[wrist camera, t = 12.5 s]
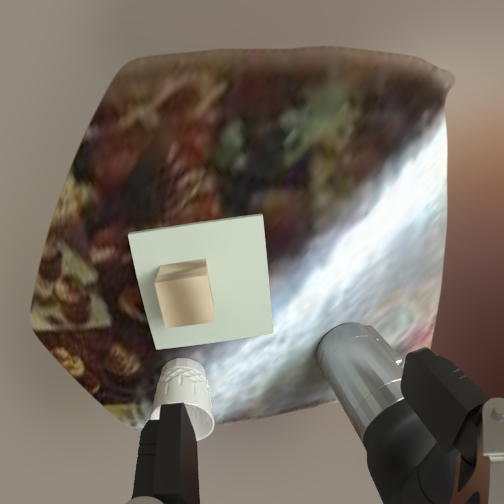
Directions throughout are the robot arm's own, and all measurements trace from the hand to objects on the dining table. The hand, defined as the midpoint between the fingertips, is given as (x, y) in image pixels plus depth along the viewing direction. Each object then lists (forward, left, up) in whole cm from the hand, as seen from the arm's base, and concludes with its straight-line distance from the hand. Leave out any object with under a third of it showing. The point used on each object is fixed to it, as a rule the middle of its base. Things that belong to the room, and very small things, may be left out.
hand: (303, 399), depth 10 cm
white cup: (+10, +21, -29) cm, 37 cm away
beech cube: (+6, +6, -28) cm, 30 cm away
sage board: (+4, +7, -29) cm, 30 cm away
